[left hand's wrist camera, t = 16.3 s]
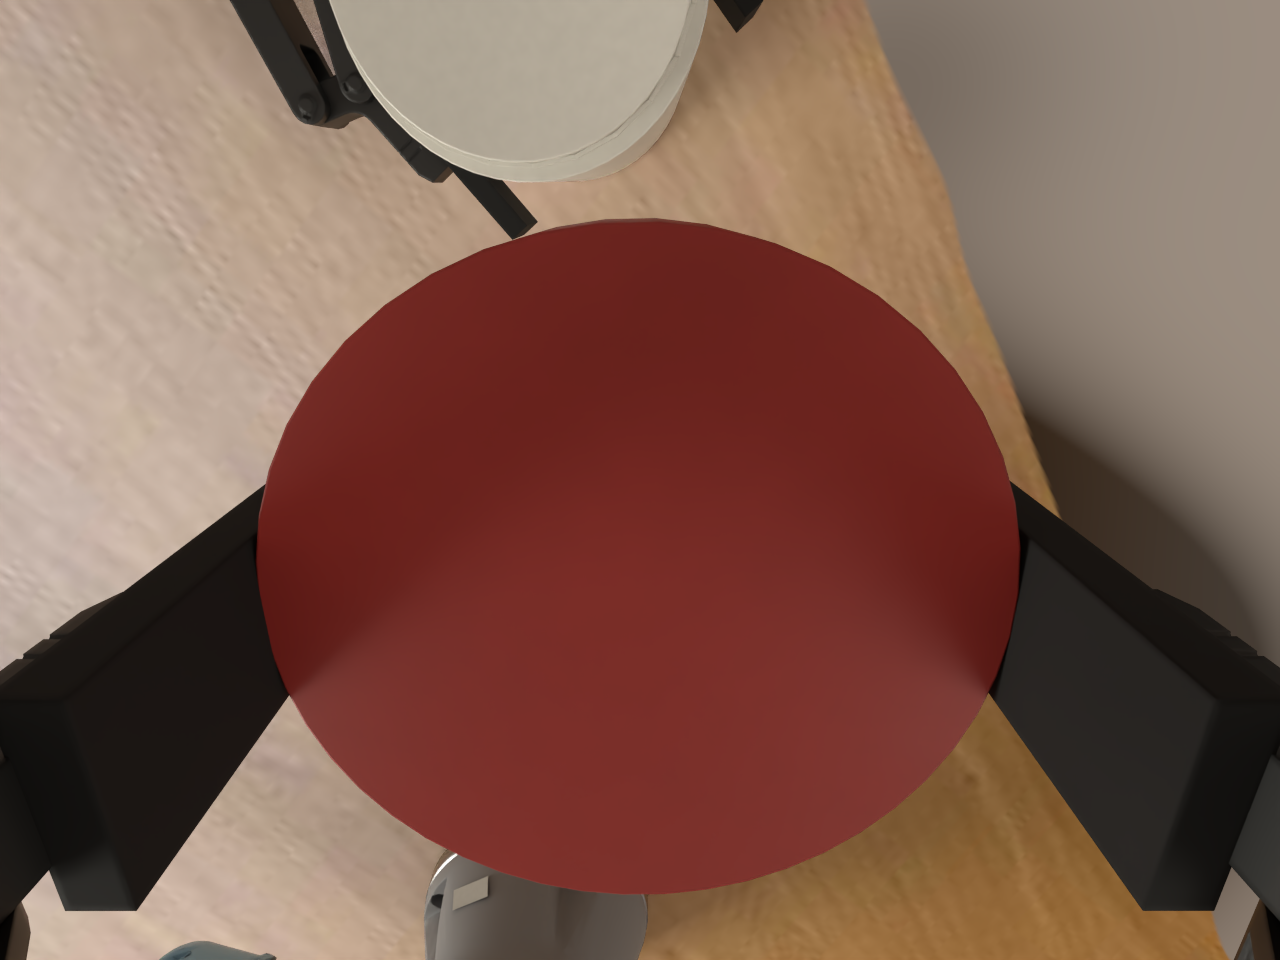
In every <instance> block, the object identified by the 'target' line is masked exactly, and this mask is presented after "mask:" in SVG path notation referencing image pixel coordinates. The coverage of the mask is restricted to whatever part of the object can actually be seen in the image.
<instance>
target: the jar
mask: <svg viewBox="0 0 1280 960" xmlns="http://www.w3.org/2000/svg"><path fill="white" fill-rule="evenodd" d="M329 1H330V4H331V7H332V10H333V12H334V15H335V18H336V20H337V23H338V26H339V28H340V31H341V33H342V36H343V38H344V41H345V44H346V46H347V49H348V51H349V53H350V55H351V57H352V59H353V61H354V63H355V65H356V67H357V69H358V71H359V73H360V74H361V76H362V77H363V79H364V81H365V82H366V84H367V85H368V87H369V88H370V90H371V91H372V93H373V95H374V96H375V97H376V99H377V100H378V101H379V102H380V104H381V105H382V106H383V107H384V108H385V110H386V111H387V112H388V113H389V115H390V116H391V117H392V118H393V119H394V120H395V121H396V122H397V123H398V124H399V125H400V126H401V127H402V128H403V129H404V130H405V131H406V132H407V133H408V134H409V135H410V136H412V137H413V138H414V139H415V140H417V141H418V142H419V143H421V144H422V145H423V146H425V147H426V148H427V149H428V150H430V151H431V152H433V153H435V154H436V155H438V156H440V157H441V158H443V159H445V160H447V161H448V162H450V163H452V164H454V165H456V166H459V167H461V168H463V169H466V170H468V171H470V172H473V173H476V174H479V175H483V176H486V177H490V178H494V179H498V180H506V181H513V182H566V181H587V180H593V179H598V178H602V177H605V176H608V175H611V174H614V173H616V172H618V171H620V170H622V169H624V168H626V167H627V166H629V165H630V164H632V163H634V162H635V161H637V160H638V159H639V158H640V157H641V156H642V155H644V154H645V153H646V152H647V151H648V150H649V149H650V148H651V147H652V146H653V145H654V143H655V142H656V141H657V140H658V139H659V137H660V136H661V134H662V133H663V132H664V130H665V129H666V127H667V125H668V124H669V122H670V120H671V118H672V116H673V114H674V112H675V109H676V107H677V104H678V101H679V99H680V96H681V93H682V91H683V88H684V85H685V82H686V79H687V77H688V74H689V71H690V68H691V66H692V63H693V60H694V57H695V55H696V52H697V49H698V46H699V43H700V39H701V36H702V32H703V28H704V24H705V20H706V15H707V8H708V1H709V0H329Z"/></svg>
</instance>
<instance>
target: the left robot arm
mask: <svg viewBox="0 0 1280 960" xmlns="http://www.w3.org/2000/svg"><path fill="white" fill-rule="evenodd" d="M265 485H266V484H265ZM265 485H264V486H262V487H261V488H260V489H258V490H257V491H256V492H254V493H253V494H252V495H250V496H249V497H248V498H247V499H245V500H244V501H243V502H241V503H240V504H239V505H237V506H236V507H235V508H233V509H232V510H231V511H229V512H228V513H227V514H225V515H224V516H223V517H221V518H220V519H219V520H218V521H216V522H215V523H214V524H212V525H211V526H210V527H208V528H207V529H206V530H204V531H203V532H202V533H200V534H199V535H198V536H196V537H195V538H194V539H192V540H191V541H190V542H189V543H187V544H186V545H185V546H183V547H182V548H181V549H179V550H178V551H177V552H175V553H174V554H173V555H171V556H170V557H169V558H167V559H166V560H165V561H163V562H162V563H161V564H160V565H158V566H157V567H156V568H154V569H153V570H152V571H150V572H149V573H148V574H146V575H145V576H144V577H142V578H141V579H140V580H138V581H137V582H136V583H134V584H133V585H132V586H131V587H129V588H128V589H127V590H125V591H124V592H122V593H119V594H117V595H115V596H113V597H111V598H109V599H107V600H105V601H103V602H100V603H98V604H96V605H94V606H92V607H90V608H88V609H86V610H84V611H81V612H80V613H79V614H77V615H76V616H75V617H73V618H72V619H70V620H69V621H68V622H66V623H65V624H64V625H62V626H61V627H60V628H58V629H57V630H56V631H54V632H53V633H51V634H50V638H49V639H43V640H42V641H41V642H39V643H38V644H37V645H35V646H34V647H32V648H31V649H30V650H28V651H27V652H26V653H24V654H23V655H24V657H23V659H16V660H15V661H13V662H12V663H11V664H9V665H8V666H7V667H5V668H4V669H3V670H1V671H0V960H26V958H27V952H28V946H29V940H30V934H31V932H30V926H29V920H28V916H27V914H26V911H25V909H24V907H23V904H22V902H21V901H22V900H23V899H24V898H25V896H26V895H27V894H28V893H29V892H30V891H31V890H32V888H33V887H34V886H35V885H36V884H37V883H38V882H39V881H40V879H41V878H42V877H43V876H44V875H45V874H46V873H47V871H48V870H49V871H50V874H51V876H52V879H53V881H54V884H55V886H56V889H57V891H58V894H59V896H60V899H61V901H62V904H63V906H64V909H65V911H137V909H138V908H139V907H140V905H141V904H142V902H143V901H144V900H145V898H146V897H147V895H148V894H149V892H150V891H151V890H152V888H153V887H154V885H155V884H156V883H157V881H158V880H159V878H160V877H161V875H162V874H163V873H164V871H165V870H166V868H167V867H168V866H169V864H170V863H171V861H172V860H173V859H174V857H175V856H176V854H177V853H178V851H179V850H180V849H181V847H182V846H183V844H184V843H185V842H186V840H187V839H188V837H189V836H190V835H191V833H192V832H193V830H194V829H195V827H196V826H197V825H198V823H199V822H200V820H201V819H202V818H203V816H204V815H205V813H206V812H207V811H208V809H209V808H210V806H211V805H212V803H213V802H214V801H215V799H216V798H217V796H218V795H219V794H220V792H221V791H222V789H223V788H224V787H225V785H226V784H227V782H228V781H229V779H230V778H231V777H232V775H233V774H234V772H235V771H236V770H237V768H238V767H239V765H240V764H241V762H242V761H243V760H244V758H245V757H246V755H247V754H248V753H249V751H250V750H251V748H252V747H253V746H254V744H255V743H256V741H257V740H258V738H259V737H260V736H261V734H262V733H263V731H264V730H265V729H266V727H267V726H268V724H269V723H270V722H271V720H272V719H273V717H274V716H275V714H276V713H277V712H278V710H279V709H280V707H281V706H282V705H283V703H284V702H285V700H286V699H287V698H288V696H289V693H288V692H287V690H286V688H285V686H284V683H283V681H282V678H281V676H280V673H279V670H278V668H277V665H276V663H275V660H274V656H273V652H272V648H271V643H270V639H269V634H268V629H267V625H266V620H265V615H264V611H263V606H262V601H261V597H260V591H259V586H258V580H257V570H256V550H257V535H258V519H259V512H260V508H261V503H262V499H263V494H264V490H265ZM1010 485H1011V488H1012V492H1013V496H1014V499H1015V504H1016V513H1017V522H1018V531H1019V540H1020V549H1021V550H1020V574H1019V594H1018V600H1017V605H1016V610H1015V615H1014V620H1013V626H1012V631H1011V636H1010V639H1009V642H1008V645H1007V648H1006V651H1005V653H1004V656H1003V659H1002V662H1001V665H1000V668H999V671H998V674H997V677H996V679H995V681H994V683H993V685H992V686H991V688H990V690H989V692H988V693H989V694H990V695H991V697H992V698H993V700H994V701H995V702H996V704H997V705H998V707H999V708H1000V709H1001V711H1002V712H1003V714H1004V715H1005V717H1006V718H1007V719H1008V721H1009V722H1010V724H1011V725H1012V726H1013V728H1014V729H1015V731H1016V732H1017V734H1018V735H1019V736H1020V738H1021V739H1022V741H1023V742H1024V743H1025V745H1026V746H1027V748H1028V749H1029V750H1030V752H1031V753H1032V755H1033V756H1034V758H1035V759H1036V760H1037V762H1038V763H1039V765H1040V766H1041V767H1042V769H1043V770H1044V772H1045V773H1046V774H1047V776H1048V777H1049V779H1050V780H1051V782H1052V783H1053V784H1054V786H1055V787H1056V789H1057V790H1058V791H1059V793H1060V794H1061V796H1062V797H1063V798H1064V800H1065V801H1066V803H1067V804H1068V806H1069V807H1070V808H1071V810H1072V811H1073V813H1074V814H1075V815H1076V817H1077V818H1078V820H1079V821H1080V823H1081V824H1082V825H1083V827H1084V828H1085V830H1086V831H1087V832H1088V834H1089V835H1090V837H1091V838H1092V839H1093V841H1094V842H1095V844H1096V845H1097V847H1098V848H1099V849H1100V851H1101V852H1102V854H1103V855H1104V856H1105V858H1106V859H1107V861H1108V862H1109V863H1110V865H1111V866H1112V868H1113V869H1114V871H1115V872H1116V873H1117V875H1118V876H1119V878H1120V879H1121V880H1122V882H1123V883H1124V885H1125V886H1126V888H1127V889H1128V890H1129V892H1130V893H1131V895H1132V896H1133V897H1134V899H1135V900H1136V902H1137V903H1138V904H1139V906H1140V907H1141V909H1142V910H1143V911H1214V910H1215V907H1216V905H1217V902H1218V900H1219V897H1220V895H1221V892H1222V890H1223V887H1224V884H1225V882H1226V880H1227V877H1228V874H1229V872H1230V869H1231V867H1232V868H1233V869H1234V870H1235V871H1236V872H1237V873H1238V875H1239V876H1240V877H1241V878H1242V879H1243V880H1244V881H1245V882H1246V884H1247V885H1248V886H1249V887H1250V888H1251V889H1252V890H1253V892H1254V893H1255V894H1256V895H1257V896H1258V897H1259V898H1260V900H1259V902H1258V904H1257V907H1256V909H1255V911H1254V914H1253V916H1252V918H1251V921H1250V923H1249V925H1248V928H1247V930H1246V933H1245V935H1244V937H1243V940H1242V942H1241V944H1240V947H1239V949H1238V951H1237V954H1236V956H1235V958H1234V960H1280V668H1279V667H1278V666H1276V665H1275V664H1274V663H1272V662H1271V661H1270V660H1268V659H1267V658H1266V657H1264V656H1258V655H1257V651H1256V650H1255V649H1253V648H1252V647H1251V646H1249V645H1248V644H1247V643H1245V642H1244V641H1242V640H1241V639H1240V638H1238V637H1237V636H1231V634H1230V631H1229V630H1227V629H1226V628H1225V627H1223V626H1222V625H1220V624H1219V623H1218V622H1216V621H1215V620H1214V619H1212V618H1211V617H1210V616H1208V615H1207V614H1205V613H1204V612H1203V611H1201V610H1200V609H1198V608H1196V607H1194V606H1192V605H1190V604H1188V603H1186V602H1183V601H1181V600H1179V599H1177V598H1175V597H1173V596H1171V595H1169V594H1166V593H1164V592H1162V591H1160V590H1158V589H1152V588H1150V587H1149V586H1148V585H1146V584H1145V583H1144V582H1142V581H1141V580H1140V579H1138V578H1137V577H1136V576H1134V575H1133V574H1132V573H1130V572H1129V571H1128V570H1127V569H1125V568H1124V567H1123V566H1121V565H1120V564H1119V563H1117V562H1116V561H1115V560H1113V559H1112V558H1111V557H1109V556H1108V555H1107V554H1105V553H1104V552H1103V551H1101V550H1100V549H1099V548H1097V547H1096V546H1095V545H1094V544H1092V543H1091V542H1090V541H1088V540H1087V539H1086V538H1084V537H1083V536H1082V535H1080V534H1079V533H1078V532H1076V531H1075V530H1074V529H1072V528H1071V527H1070V526H1069V525H1067V524H1066V523H1065V522H1063V521H1062V520H1061V519H1059V518H1058V517H1057V516H1055V515H1054V514H1053V513H1051V512H1050V511H1049V510H1047V509H1046V508H1045V507H1043V506H1042V505H1041V504H1040V503H1038V502H1037V501H1036V500H1034V499H1033V498H1032V497H1030V496H1029V495H1028V494H1026V493H1025V492H1024V491H1022V490H1021V489H1020V488H1018V487H1017V486H1016V485H1015V484H1013V483H1012V482H1011V481H1010ZM647 922H648V895H647V894H625V895H623V894H611V893H599V892H587V891H579V890H573V889H568V888H562V887H557V886H551V885H546V884H541V883H537V882H534V881H530V880H527V879H523V878H519V877H516V876H512V875H509V874H505V873H502V872H499V871H497V870H494V869H492V868H489V867H487V866H484V865H481V864H479V863H476V862H474V861H471V860H469V859H466V858H464V857H462V856H460V855H458V854H456V853H454V852H452V851H450V850H448V849H447V850H446V851H445V852H444V854H443V855H442V856H441V858H440V859H439V861H438V863H437V865H436V867H435V870H434V872H433V876H432V879H431V882H430V885H429V888H428V892H427V896H426V903H425V911H424V929H425V960H638V957H639V954H640V951H641V948H642V946H643V943H644V938H645V933H646V929H647ZM159 960H276V957H275V956H273V955H271V954H267V953H266V954H263V955H257V954H253V953H249V952H246V951H242V950H238V949H234V948H231V947H227V946H223V945H220V944H216V943H213V942H209V941H196V942H191V943H188V944H185V945H182V946H179V947H177V948H175V949H174V950H172V951H170V952H169V953H167V954H166V955H164V956H163V957H162V958H161V959H159Z"/></svg>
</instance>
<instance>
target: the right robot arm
mask: <svg viewBox="0 0 1280 960" xmlns="http://www.w3.org/2000/svg"><path fill="white" fill-rule="evenodd" d="M230 1H231V3H232V5H233V7H234V8H235V10H236V12H237V14H238V16H239V17H240V19H241V21H242V23H243V25H244V26H245V28H246V30H247V32H248V33H249V35H250V37H251V39H252V41H253V42H254V44H255V46H256V48H257V49H258V51H259V53H260V55H261V57H262V58H263V60H264V62H265V64H266V66H267V67H268V69H269V71H270V73H271V74H272V76H273V78H274V80H275V82H276V83H277V85H278V87H279V89H280V91H281V92H282V94H283V96H284V98H285V99H286V101H287V103H288V105H289V107H290V108H291V110H292V112H293V114H294V115H295V116H296V117H297V119H298V120H300V121H301V122H303V123H305V124H310V125H315V126H321V127H327V128H334V129H341V128H344V127H345V126H346V125H348V124H349V122H351V121H353V120H355V119H357V118H360V117H363V116H365V117H367V118H368V119H369V120H370V121H371V122H372V123H373V124H374V126H375V127H376V128H377V129H378V130H379V131H380V132H381V133H382V134H383V136H384V137H385V138H386V139H387V140H388V141H389V142H390V143H391V145H392V146H393V147H394V148H395V149H396V150H397V151H398V152H399V153H400V155H401V156H402V157H403V158H404V159H405V160H406V161H407V162H408V164H409V165H410V166H411V167H412V168H413V169H414V170H415V171H416V173H417V174H418V175H419V176H421V177H423V178H425V179H427V180H429V181H431V182H432V183H442V182H444V181H445V180H446V179H447V178H448V177H449V176H450V175H451V174H452V172H454V173H455V174H456V176H457V177H458V178H459V179H460V180H461V181H462V182H463V184H464V185H465V186H466V187H467V188H468V189H469V190H470V192H471V193H472V194H473V195H474V196H475V197H476V198H477V200H478V201H479V202H480V203H481V204H482V205H483V206H484V208H485V209H486V210H487V211H488V212H489V213H490V215H491V216H492V217H493V218H494V219H495V220H496V221H497V223H498V224H499V225H500V226H501V227H502V228H503V229H504V231H505V232H506V233H507V234H508V235H509V236H510V237H511V239H512V240H513V239H515V238H518V237H520V236H522V235H524V234H525V233H527V232H528V231H529V230H530V229H531V228H532V227H533V226H534V225H535V224H536V223H537V220H536V219H535V218H534V217H533V216H532V214H531V213H530V212H529V211H528V210H527V209H526V207H525V206H524V205H523V204H522V203H521V202H520V200H519V199H518V198H517V197H516V196H515V195H514V193H513V192H512V191H511V190H510V189H509V188H508V186H507V185H506V184H505V183H504V182H503V181H502V180H498V179H494V178H490V177H486V176H483V175H479V174H476V173H473V172H470V171H468V170H466V169H463V168H461V167H459V166H456V165H454V164H452V163H450V162H448V161H447V160H445V159H443V158H441V157H440V156H438V155H436V154H435V153H433V152H431V151H430V150H428V149H427V148H426V147H425V146H423V145H422V144H421V143H419V142H418V141H417V140H415V139H414V138H413V137H412V136H410V135H409V134H408V133H407V132H406V131H405V130H404V129H403V128H402V127H401V126H400V125H399V124H398V123H397V122H396V121H395V120H394V119H393V118H392V117H391V116H390V115H389V113H388V112H387V111H386V110H385V108H384V107H383V106H382V105H381V104H380V102H379V101H378V100H377V99H376V97H375V96H374V95H373V93H372V91H371V90H370V88H369V87H368V85H367V84H366V82H365V81H364V79H363V77H362V76H361V74H360V73H359V71H358V69H357V67H356V65H355V63H354V61H353V59H352V57H351V55H350V53H349V51H348V49H347V46H346V44H345V41H344V38H343V36H342V33H341V31H340V28H339V26H338V23H337V20H336V18H335V15H334V12H333V10H332V7H331V4H330V1H329V0H314V4H315V7H316V10H317V14H318V17H319V20H320V24H321V27H322V30H323V34H324V37H325V40H326V44H327V47H328V50H329V54H330V57H331V60H332V64H333V67H334V70H335V74H336V75H334V76H333V74H332V72H331V70H330V68H329V66H328V64H327V62H326V61H325V59H324V57H323V55H322V53H321V51H320V49H319V47H318V45H317V44H316V42H315V40H314V38H313V36H312V34H311V32H310V30H309V29H308V27H307V25H306V23H305V21H304V19H303V17H302V15H301V14H300V12H299V10H298V8H297V6H296V4H295V2H294V0H230ZM714 1H715V3H716V4H717V6H718V7H719V9H720V10H721V11H722V13H723V14H724V16H725V17H726V19H727V20H728V21H729V23H730V24H731V26H732V27H733V29H734V30H735V32H736V33H737V32H738V31H739V30H740V29H741V28H742V27H743V26H744V25H745V24H746V23H747V22H748V21H749V20H750V19H751V18H752V17H753V16H754V15H755V13H756V11H757V10H758V8H759V7H760V5H761V3H762V2H763V0H714Z"/></svg>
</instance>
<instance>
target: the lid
mask: <svg viewBox="0 0 1280 960" xmlns="http://www.w3.org/2000/svg"><path fill="white" fill-rule="evenodd" d="M1020 550H1021V549H1020V540H1019V531H1018V522H1017V513H1016V504H1015V499H1014V496H1013V492H1012V488H1011V485H1010V481H1009V477H1008V474H1007V470H1006V466H1005V462H1004V459H1003V456H1002V454H1001V451H1000V449H999V447H998V445H997V442H996V440H995V438H994V436H993V433H992V431H991V429H990V427H989V425H988V422H987V420H986V418H985V416H984V413H983V412H982V410H981V408H980V407H979V405H978V404H977V402H976V401H975V399H974V398H973V396H972V395H971V393H970V391H969V390H968V388H967V387H966V385H965V384H964V382H963V381H962V379H961V378H960V376H959V375H958V373H957V371H956V370H955V369H954V368H953V367H952V365H951V364H950V363H949V362H948V361H947V360H946V359H945V358H944V356H943V355H942V354H941V353H940V352H939V351H938V350H937V349H936V348H935V346H934V345H933V344H932V343H931V342H930V341H929V340H928V339H927V337H926V336H925V335H924V334H923V333H922V332H921V331H920V330H919V329H918V328H917V327H915V326H914V325H913V324H912V323H911V322H909V321H908V320H907V319H906V318H905V317H903V316H902V315H901V314H900V313H899V312H897V311H896V310H895V309H894V308H893V307H891V306H890V305H889V304H888V303H886V302H885V301H884V300H883V299H882V298H880V297H879V296H878V295H876V294H875V293H873V292H871V291H870V290H868V289H866V288H865V287H863V286H861V285H860V284H858V283H856V282H855V281H853V280H852V279H850V278H848V277H847V276H845V275H843V274H842V273H840V272H838V271H837V270H835V269H833V268H832V267H830V266H828V265H825V264H823V263H821V262H818V261H816V260H814V259H811V258H809V257H807V256H804V255H802V254H799V253H797V252H795V251H792V250H790V249H788V248H785V247H783V246H781V245H778V244H776V243H772V242H769V241H766V240H762V239H759V238H756V237H752V236H749V235H745V234H741V233H737V232H734V231H730V230H726V229H722V228H718V227H715V226H711V225H707V224H700V223H691V222H683V221H675V220H666V219H658V218H646V219H604V220H598V221H592V222H586V223H580V224H573V225H567V226H561V227H555V228H552V229H548V230H545V231H542V232H538V233H535V234H532V235H529V236H525V237H522V238H519V239H516V240H512V241H509V242H506V243H503V244H499V245H496V246H493V247H490V248H486V249H483V250H481V251H479V252H477V253H475V254H473V255H471V256H469V257H466V258H464V259H462V260H460V261H458V262H456V263H454V264H452V265H449V266H447V267H445V268H443V269H441V270H439V271H437V272H435V273H433V274H431V275H429V276H428V277H426V278H425V279H423V280H422V281H420V282H419V283H417V284H416V285H414V286H413V287H411V288H410V289H408V290H407V291H405V292H404V293H402V294H401V295H399V296H398V297H396V298H395V299H393V300H392V301H390V302H389V303H387V304H386V305H384V306H383V307H382V308H381V309H380V310H379V311H378V312H377V313H375V314H374V315H373V316H372V317H371V318H370V319H369V320H368V321H367V322H366V323H364V324H363V325H362V326H361V327H360V328H359V329H358V330H357V331H356V332H354V333H353V334H352V335H351V336H350V337H349V338H348V339H347V340H346V341H345V342H344V343H343V344H342V345H341V347H340V348H339V349H338V350H337V351H336V353H335V354H334V355H333V356H332V358H331V359H330V360H329V361H328V362H327V364H326V365H325V366H324V367H323V369H322V370H321V371H320V372H319V373H318V375H317V376H316V377H315V378H314V380H313V381H312V382H311V384H310V386H309V387H308V389H307V391H306V393H305V394H304V396H303V398H302V399H301V401H300V403H299V404H298V406H297V408H296V410H295V411H294V413H293V415H292V416H291V418H290V420H289V421H288V423H287V425H286V428H285V430H284V433H283V435H282V438H281V440H280V443H279V445H278V448H277V450H276V453H275V456H274V458H273V461H272V463H271V466H270V468H269V472H268V476H267V481H266V485H265V490H264V494H263V499H262V503H261V508H260V512H259V519H258V535H257V550H256V570H257V580H258V586H259V591H260V597H261V601H262V606H263V611H264V615H265V620H266V625H267V629H268V634H269V639H270V643H271V648H272V652H273V656H274V660H275V663H276V665H277V668H278V670H279V673H280V676H281V678H282V681H283V683H284V686H285V688H286V690H287V692H288V693H289V695H290V697H291V699H292V701H293V702H294V704H295V706H296V708H297V710H298V711H299V713H300V715H301V717H302V719H303V720H304V722H305V724H306V725H307V727H308V728H309V729H310V731H311V732H312V733H313V735H314V736H315V738H316V739H317V740H318V742H319V743H320V744H321V746H322V747H323V748H324V750H325V751H326V752H327V754H328V755H329V756H330V758H331V759H332V760H333V761H334V762H335V763H336V764H337V765H338V766H339V767H340V768H341V769H342V771H343V772H344V773H345V774H346V775H347V776H348V777H349V778H350V779H351V780H352V781H353V782H354V783H355V784H356V785H357V786H358V787H359V788H360V789H361V790H362V791H363V792H364V793H366V794H367V795H368V796H369V797H370V798H372V799H373V800H374V801H375V802H376V803H378V804H379V805H380V806H381V807H382V808H384V809H385V810H386V811H387V812H388V813H389V814H391V815H392V816H394V817H395V818H397V819H398V820H400V821H401V822H403V823H404V824H406V825H407V826H409V827H410V828H412V829H413V830H415V831H416V832H418V833H419V834H421V835H422V836H424V837H425V838H427V839H429V840H431V841H433V842H435V843H437V844H439V845H440V846H442V847H444V848H446V849H448V850H450V851H452V852H454V853H456V854H458V855H460V856H462V857H464V858H466V859H469V860H471V861H474V862H476V863H479V864H481V865H484V866H487V867H489V868H492V869H494V870H497V871H499V872H502V873H505V874H509V875H512V876H516V877H519V878H523V879H527V880H530V881H534V882H537V883H541V884H546V885H551V886H557V887H562V888H568V889H573V890H579V891H587V892H599V893H611V894H623V895H625V894H670V893H679V892H688V891H697V890H706V889H711V888H716V887H721V886H726V885H730V884H735V883H740V882H745V881H749V880H752V879H755V878H758V877H761V876H765V875H768V874H771V873H774V872H777V871H781V870H784V869H787V868H789V867H792V866H794V865H796V864H799V863H801V862H803V861H806V860H808V859H810V858H813V857H815V856H817V855H820V854H822V853H824V852H826V851H828V850H830V849H832V848H833V847H835V846H837V845H839V844H841V843H842V842H844V841H846V840H848V839H850V838H851V837H853V836H855V835H857V834H859V833H860V832H862V831H863V830H865V829H866V828H868V827H869V826H870V825H872V824H873V823H875V822H876V821H877V820H879V819H880V818H882V817H883V816H884V815H886V814H887V813H889V812H890V811H892V810H893V809H894V808H896V807H897V806H898V805H899V804H900V803H901V802H902V801H903V800H905V799H906V798H907V797H908V796H909V795H910V794H911V793H912V792H914V791H915V790H916V789H917V788H918V787H919V786H920V785H921V784H922V783H924V782H925V781H926V780H927V779H928V777H929V776H930V775H931V774H932V773H933V772H934V771H935V770H936V768H937V767H938V766H939V765H940V764H941V763H942V762H943V761H944V759H945V758H946V757H947V756H948V755H949V754H950V753H951V752H952V750H953V749H954V748H955V746H956V745H957V743H958V742H959V740H960V739H961V738H962V736H963V735H964V733H965V732H966V730H967V729H968V727H969V726H970V724H971V723H972V721H973V720H974V719H975V717H976V716H977V714H978V712H979V710H980V708H981V706H982V704H983V702H984V700H985V698H986V696H987V694H988V692H989V690H990V688H991V686H992V685H993V683H994V681H995V679H996V677H997V674H998V671H999V668H1000V665H1001V662H1002V659H1003V656H1004V653H1005V651H1006V648H1007V645H1008V642H1009V639H1010V636H1011V631H1012V626H1013V620H1014V615H1015V610H1016V605H1017V600H1018V594H1019V574H1020Z"/></svg>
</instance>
